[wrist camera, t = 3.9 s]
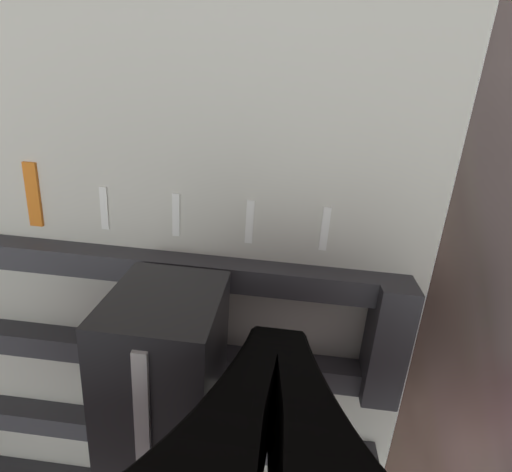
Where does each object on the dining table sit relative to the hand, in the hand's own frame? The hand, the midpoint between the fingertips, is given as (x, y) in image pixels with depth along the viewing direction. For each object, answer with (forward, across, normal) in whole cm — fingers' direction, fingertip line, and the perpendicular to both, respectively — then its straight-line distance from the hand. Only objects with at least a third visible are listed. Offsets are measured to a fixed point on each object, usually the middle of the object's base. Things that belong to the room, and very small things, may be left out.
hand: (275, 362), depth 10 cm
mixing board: (+3, +4, 0) cm, 5 cm away
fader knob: (+2, +2, 0) cm, 3 cm away
